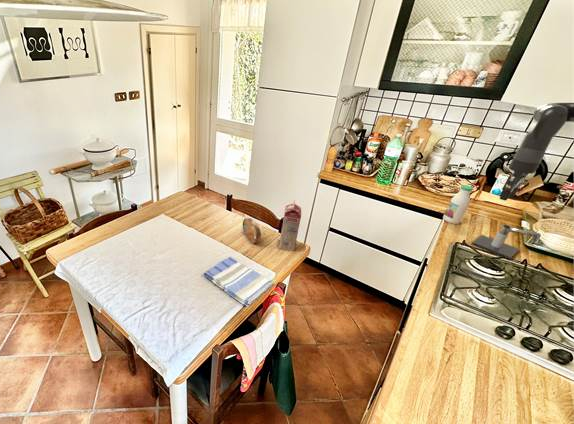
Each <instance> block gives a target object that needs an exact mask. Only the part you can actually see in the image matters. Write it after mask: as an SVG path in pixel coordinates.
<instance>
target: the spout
mask: <svg viewBox="0 0 574 424" xmlns="http://www.w3.org/2000/svg"><path fill="white" fill-rule="evenodd" d="M498 231H499V233H501V234H503V235H508V236H509V234H510V233H515V234H520V235H525V236H531V237H532V238H531V241H533V242H536V243H537V242H538V241H539V240H540V238H541V237H542V234H541V233H540V232H535V231H530V230H525V229H520V228H514V227H511V226H510V225H507V224H504V225H501V227H500V228H499V230H498Z"/></svg>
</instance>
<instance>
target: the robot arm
mask: <svg viewBox="0 0 574 424" xmlns="http://www.w3.org/2000/svg"><path fill="white" fill-rule="evenodd" d="M532 118H533V120H534V121H535V122H537V123H536V124H535V126H534V128H533V129H532V130H531V131H528V132H527V133H526V134H525V136H524V138H523V140H522V142H521V144H520V146H519V148H518V149H517V150H516V152H515V154H514V156H513V157H512V160H511V162H510V164H509V165H508V169H509V171H510V170H511V171H513V173H511V174H510V175H508V176H507V178H506V181H505V183H504V185H503V186H502V188H501V190H502V192H501V195H500V196H499V200H501V201H504V202H505V201H508V199H509V197H511V196H512V197H514V196H516V194H517V193H518V191H519V188H521V187H522V185H524V183H525V181H526V179H527V178H528V175H529V174H535V173H536V171H537V169H538V167H539V166H540V164H541V162H542V160H543V158H544V157H545V154H546V151H547V149H548V147H549V146H550V144H551V142H552V140H553V138H554V137H555V136H556V135H557V134H558V132H559V131H560V130H561V129H562V128H563V127H564V126H565V124H566V123H568V122H569V123H574V102H550V103H545V104H542V105H540V106H538V107H537V108H536V109H535V110H534V112H533V114H532Z"/></svg>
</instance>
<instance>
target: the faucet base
mask: <svg viewBox="0 0 574 424" xmlns="http://www.w3.org/2000/svg"><path fill="white" fill-rule="evenodd" d="M508 236H509V234H508V235H503V234H501V233H499V230H498V231H497V232H496V234H495V236H494V238H492V237H489V236H486V235H484V234H481V235H480V236H478V238H476V239H475V240H474V241H472V242H471V245H472V246H474V247H476V248H480V249H482V250H485V251H487V252H489V253H492V254H494V255H497V256H499V257H502V258H504V257H505V259H507V258H508V259H507V260H509V259H510V260H511V259H512V258H513V257H514V256H515V255H516V254H517V253H518V252H519V251H520V248H518V247H515V246H514V245H510V244H508V243H506V242H505V241H506V240H507V238H508Z"/></svg>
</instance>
